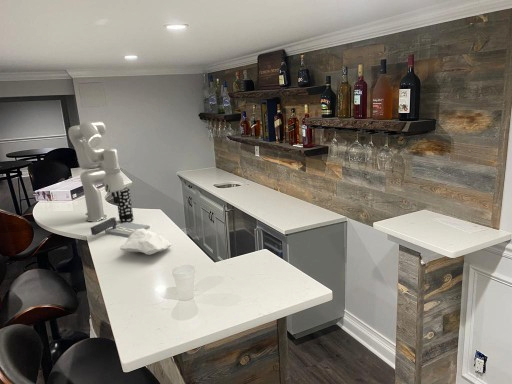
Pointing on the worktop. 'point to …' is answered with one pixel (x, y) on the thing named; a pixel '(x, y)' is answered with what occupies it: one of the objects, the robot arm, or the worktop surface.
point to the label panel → (125, 229)
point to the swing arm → (103, 226)
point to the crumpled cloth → (145, 242)
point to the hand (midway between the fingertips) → (117, 203)
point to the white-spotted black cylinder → (125, 207)
